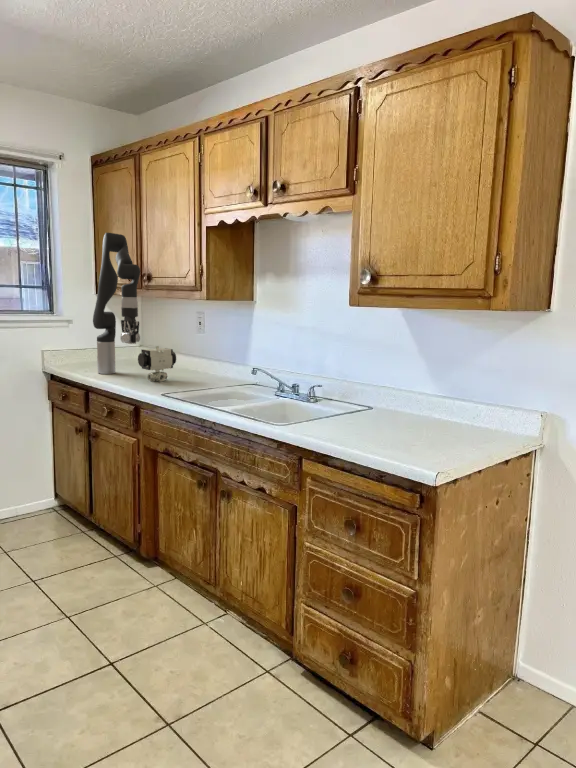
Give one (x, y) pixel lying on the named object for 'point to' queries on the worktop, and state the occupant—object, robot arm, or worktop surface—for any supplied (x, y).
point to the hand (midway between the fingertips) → (130, 342)
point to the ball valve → (157, 362)
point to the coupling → (128, 338)
